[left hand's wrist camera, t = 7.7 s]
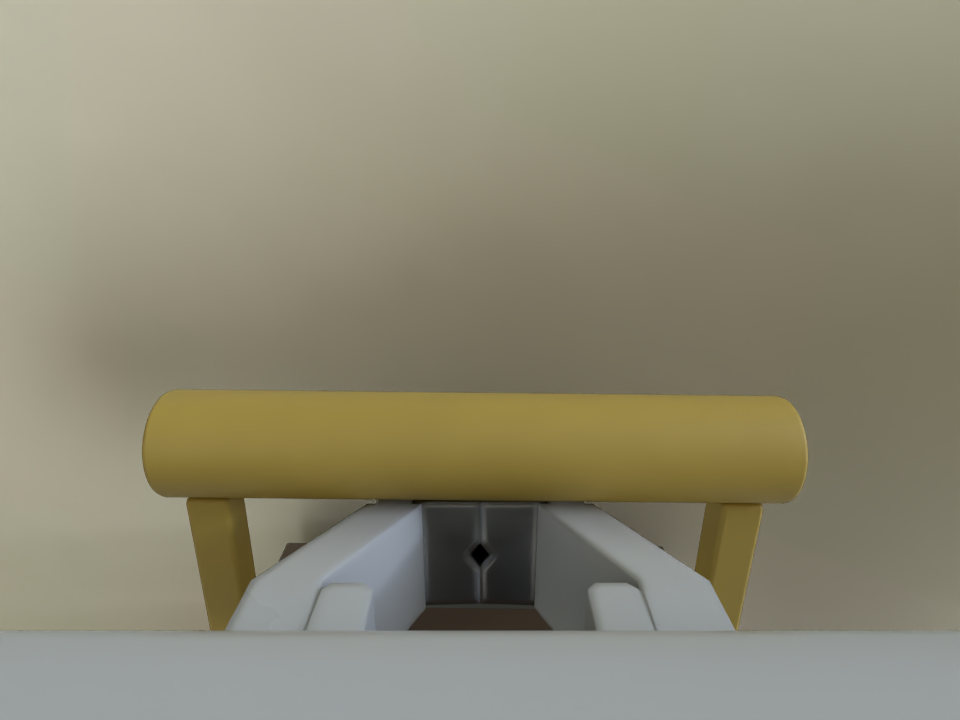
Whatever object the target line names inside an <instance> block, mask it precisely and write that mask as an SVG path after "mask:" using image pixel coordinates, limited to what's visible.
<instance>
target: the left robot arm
mask: <svg viewBox="0 0 960 720" xmlns="http://www.w3.org/2000/svg"><path fill="white" fill-rule="evenodd" d="M451 604H508V605H534V608H535V609H536V610H537V612H538V613H539V614H540V615H541V616H542V618H543V619H544V620H545V621H546V623H547V624H548V625H549V626H550V628H551V629H552V630H553V631H407V630H408V629H409V628H410V627H411V626H412V624H413V623H414V622H415V621H416V619H417V618H418V617H419V616H420V615H421V613H422V612H423V611H424V610H425V608H426V605H451ZM0 720H960V631H735V629H734V627H733V625H732V623H731V621H730V619H729V617H728V615H727V613H726V612H725V610H724V608H723V606H722V604H721V602H720V600H719V598H718V596H717V594H716V592H715V590H714V589H713V587H712V585H711V583H710V581H709V580H707V579H706V578H704V577H703V576H701V575H700V574H698V573H697V572H695V571H694V570H692V569H691V568H689V567H687V566H686V565H684V564H683V563H681V562H680V561H678V560H677V559H675V558H674V557H672V556H671V555H669V554H668V553H666V552H665V551H663V550H662V549H660V548H659V547H657V546H656V545H654V544H653V543H651V542H650V541H648V540H647V539H645V538H644V537H642V536H641V535H639V534H638V533H636V532H635V531H633V530H631V529H630V528H628V527H627V526H625V525H624V524H622V523H621V522H619V521H618V520H616V519H615V518H613V517H612V516H610V515H609V514H607V513H606V512H604V511H603V510H601V509H600V508H598V507H597V506H595V505H594V504H584V501H489V500H392V499H377V501H376V504H366V505H365V506H363V507H362V508H360V509H359V510H357V511H356V512H354V513H353V514H351V515H350V516H348V517H347V518H345V519H344V520H342V521H340V522H339V523H337V524H336V525H334V526H333V527H331V528H330V529H328V530H327V531H325V532H324V533H322V534H321V535H319V536H318V537H316V538H315V539H313V540H312V541H310V542H309V543H307V544H305V545H304V546H302V547H301V548H299V549H298V550H296V551H295V552H293V553H292V554H290V555H289V556H287V557H286V558H284V559H283V560H281V561H280V562H278V563H277V564H275V565H274V566H272V567H271V568H269V569H267V570H266V571H264V572H263V573H261V574H260V575H258V576H257V577H255V578H254V579H252V580H251V581H250V583H249V585H248V587H247V589H246V591H245V593H244V595H243V597H242V598H241V600H240V602H239V604H238V606H237V608H236V610H235V612H234V614H233V615H232V617H231V619H230V621H229V623H228V625H227V627H226V629H225V631H201V630H42V631H0Z"/></svg>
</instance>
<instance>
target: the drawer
mask: <svg viewBox="0 0 960 720" xmlns="http://www.w3.org/2000/svg"><path fill="white" fill-rule="evenodd" d="M142 459H143V467H144V472H145V475H146V478H147V481H148V483H149V485H150V486H151V488H152V489H153V490H154V491H155V492H156V493H158V494H159V495H161V496H164V497H189V498H188V499H187V503H186V504H187V510H188V515H189V520H190V525H191V531H192V536H193V541H194V546H195V552H196V557H197V562H198V567H199V573H200V578H201V583H202V588H203V594H204V599H205V604H206V609H207V614H208V620H209V625H210V630H211V631H225V629H226V627H227V625H228V623H229V621H230V619H231V617H232V615H233V614H234V612H235V610H236V608H237V606H238V604H239V602H240V600H241V598H242V597H243V595H244V593H245V591H246V589H247V587H248V585H249V583H250V581H251V580H252V579H254V578H255V577H256V575H255V568H254V562H253V555H252V548H251V542H250V535H249V528H248V522H247V515H246V508H245V502H244V498H295V499H392V500H489V501H586V502H683V503H706V508H705V514H704V520H703V525H702V531H701V537H700V543H699V549H698V555H697V560H696V566H695V572H697V573H698V574H700V575H701V576H703V577H704V578H706V579H707V580H709V581H710V583H711V585H712V587H713V589H714V590H715V592H716V594H717V596H718V598H719V600H720V602H721V604H722V606H723V608H724V610H725V612H726V613H727V615H728V617H729V619H730V621H731V623H732V625H733V627H734V629H735V631H738V626H739V621H740V617H741V612H742V607H743V603H744V598H745V593H746V588H747V584H748V579H749V574H750V570H751V565H752V560H753V555H754V551H755V546H756V541H757V537H758V532H759V527H760V522H761V518H762V513H763V506H762V504H761V503H781V504H783V503H787V502H789V501H791V500H793V499H794V498H795V497H796V496H797V495H798V494H799V493H800V491H801V489H802V487H803V484H804V482H805V478H806V473H807V467H808V446H807V439H806V434H805V430H804V426H803V423H802V421H801V418H800V416H799V414H798V412H797V411H796V409H795V408H794V407H793V405H792V404H791V403H790V402H789V401H787V400H786V399H783V398H781V397H779V396H735V395H644V394H552V393H461V392H369V391H278V390H187V389H176V390H172V391H169V392H167V393H165V394H164V395H162V396H161V397H160V398H159V399H158V400H157V402H156V403H155V405H154V406H153V408H152V410H151V412H150V414H149V417H148V419H147V423H146V426H145V430H144V436H143V445H142ZM305 544H307V543H288V544H287V545H286V547H285V549H284V551H283V554H282V556H281V558H280V560H279V562H280V561H281V560H283V559H284V558H286V557H287V556H289V555H290V554H292V553H293V552H295V551H296V550H298V549H299V548H301V547H302V546H304V545H305ZM659 548H660V549H662V550H663V551H664V549H663V547H659ZM407 631H553V630H552V629H551V628H550V626H549V625H548V624H547V623H546V621H545V620H544V619H543V618H542V616H541V615H540V614H539V613H538V612H537V610H536V609H535V608H534V605H508V604H451V605H426V608H425V610H424V611H423V612H422V613H421V615H420V616H419V617H418V618H417V619H416V621H415V622H414V623H413V624H412V626H411V627H410V628H409V629H408V630H407Z"/></svg>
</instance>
